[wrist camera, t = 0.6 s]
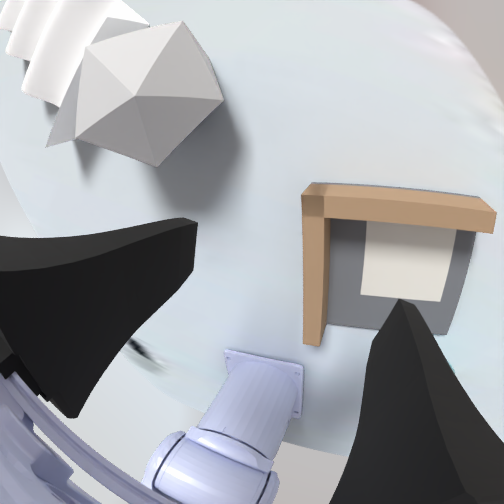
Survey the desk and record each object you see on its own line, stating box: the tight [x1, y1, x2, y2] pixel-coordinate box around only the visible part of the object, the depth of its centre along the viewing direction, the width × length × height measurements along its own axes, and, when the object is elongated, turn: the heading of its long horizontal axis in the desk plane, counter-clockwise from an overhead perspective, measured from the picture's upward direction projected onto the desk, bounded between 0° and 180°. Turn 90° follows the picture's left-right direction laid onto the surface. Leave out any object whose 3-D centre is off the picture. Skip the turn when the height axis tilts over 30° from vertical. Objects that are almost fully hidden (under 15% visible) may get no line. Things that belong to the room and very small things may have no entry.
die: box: [75, 21, 224, 167], centre depth 14 cm, size 8×9×10 cm
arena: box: [301, 182, 497, 346], centre depth 16 cm, size 10×11×3 cm
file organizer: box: [0, 0, 150, 148], centre depth 16 cm, size 13×35×5 cm, turn 42°
